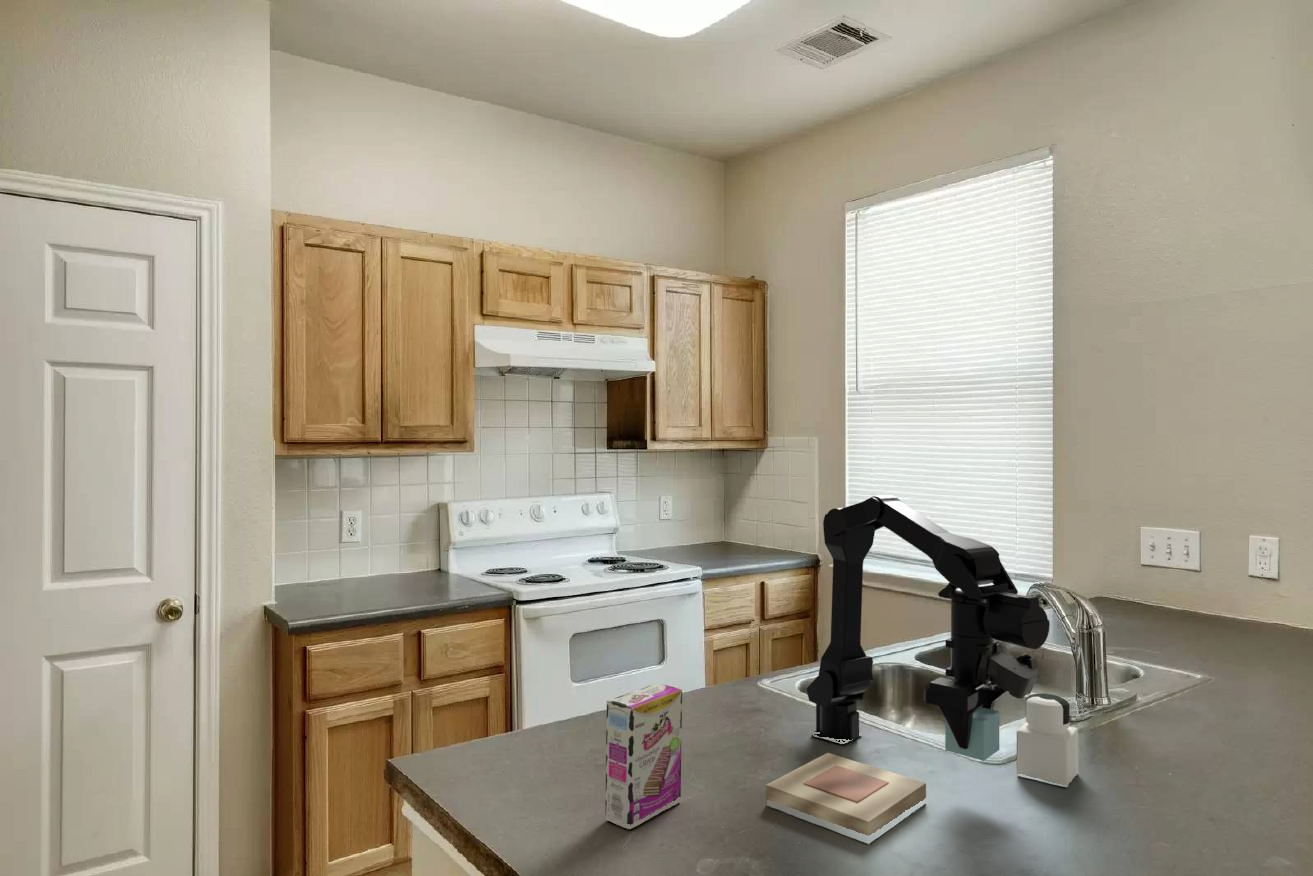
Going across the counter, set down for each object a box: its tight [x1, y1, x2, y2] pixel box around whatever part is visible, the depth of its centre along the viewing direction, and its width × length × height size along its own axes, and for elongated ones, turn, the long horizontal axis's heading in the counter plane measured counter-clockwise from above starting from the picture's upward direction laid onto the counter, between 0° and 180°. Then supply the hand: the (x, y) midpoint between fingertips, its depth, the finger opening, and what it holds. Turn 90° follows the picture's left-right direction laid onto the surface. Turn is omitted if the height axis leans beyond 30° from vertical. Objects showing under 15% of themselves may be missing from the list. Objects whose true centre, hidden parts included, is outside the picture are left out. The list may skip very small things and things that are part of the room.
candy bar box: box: [604, 683, 683, 825], centre depth 113 cm, size 11×5×16 cm, turn 141°
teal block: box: [944, 707, 1000, 762], centre depth 117 cm, size 6×6×6 cm
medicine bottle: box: [1016, 692, 1079, 786], centre depth 125 cm, size 7×7×12 cm
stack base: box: [765, 752, 927, 836], centre depth 115 cm, size 16×16×3 cm
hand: (972, 742), depth 117 cm, fingers closed on teal block, 5 cm apart
